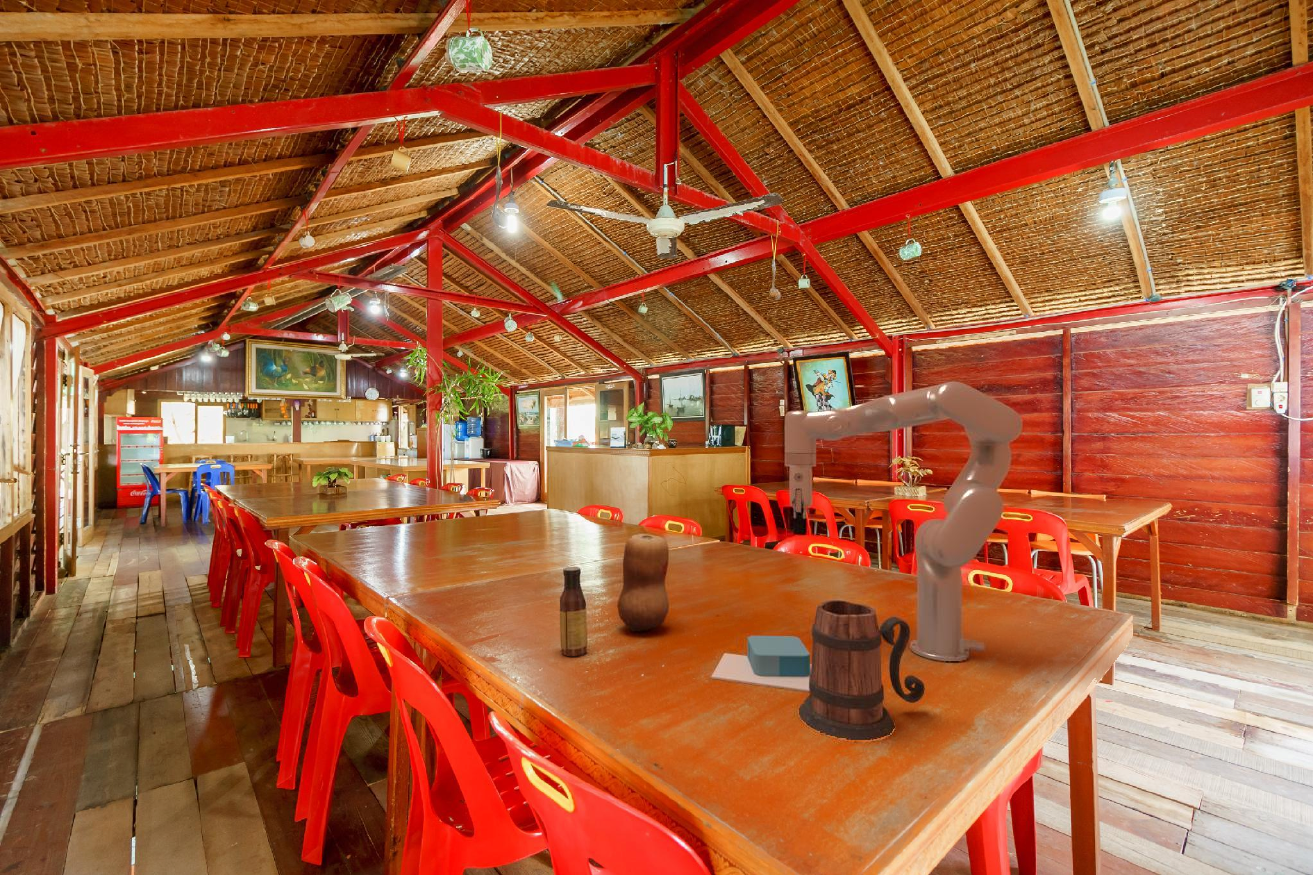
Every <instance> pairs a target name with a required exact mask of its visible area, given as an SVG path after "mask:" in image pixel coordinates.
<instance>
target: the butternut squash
mask: <svg viewBox="0 0 1313 875" xmlns="http://www.w3.org/2000/svg"><path fill="white" fill-rule="evenodd" d="M669 552H670V551H669V546H668V542H667V540H666V539H665V538H663V537H661V536H657V535H653V534H647V533H639V534H634V535H631V536H630V537H629V538H628V539H627V541H626V542H625V545H624V552H623V559H622V579H623V581H622V582H623V583H622V584H623V585H622V590H621V592H620V594H619V597H618V601H617V605H616V607H617V611H618V617H619V618H620V620H621V621H622V622H623V623H624V625H625V626H626V627H627V628H629V629H630V630H632V631H633V632H647V631H652V630H654V629H656V627H658V626H660V625H661V624H663V623H664V621H665V620H666V618H667V615H668V613H669V608H670V607H669V606H670V603H669V597H668V592H667V589H666V577H667V571H668V567H669V559H670V558H669V557H670V555H669Z"/></svg>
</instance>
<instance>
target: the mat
mask: <svg viewBox="0 0 1313 875" xmlns="http://www.w3.org/2000/svg"><path fill="white" fill-rule="evenodd" d="M811 668H812V663H810V674H809V675H808V676H759V675H756V674H755V673H754V672H753V669H752V667H751V664H750V662H749V659H748V656H747V655H741V654H734V653H727V652H724V654H723V655H722V657H721V659H720V661H719V662H718V664H717V666H716V668H715V670H714V671H713V673H712V675H711V679H713V680H720V681H727V682H732V683H733V682H734V683H735V682H736V683H741V684H748V685H749V684H750V685H756V686H763V687H768V686H769V687H770V688H775V689H776V688H777V689H782V688H783V689H784V690H791V691H797V692H798V691H799V692H803V693H805V692H806V693H810V690H809V678H810V675H811Z"/></svg>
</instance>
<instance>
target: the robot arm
mask: <svg viewBox="0 0 1313 875" xmlns="http://www.w3.org/2000/svg"><path fill="white" fill-rule="evenodd" d="M949 419H950V420H953V421H954V422H955V423H957V424H959V425H961V426H963V427H964V431H965V434H966V436H967V438H968V441H969V444H970V455H969V458H968V459H967V462H966V463H965V465H964V467H963V468H962V470H961V471H960V472H959V474H958V475H957V477H956V478H955V480H954V481H953V483H952V484H951V486H950V487H949V488H948V490H947V491H946V493H945V494H944V498H943V500H942V501H943V508H944V510H945V512H946V513H947V515H946V516H945V519H941V518H933V519H932V518H931V519H928V520H925V521H923V523H921V524H920V526H918V528H917V530H916V531H915V532H916V533H915V537H914V550H915V555H916V557H915V558H916V567H917V568H916V571H917V576H916V578H917V587H916V588H917V594H916V595H917V598H916V599H917V601H916V604H917V605H916V608H917V609H916V610H917V611H916V612H917V613H916V620H917V622H916V626H917V627H916V639H914V640H912V641H910V644H909V649H910V650H911V652H913V654H916V655H918V656H921V657H922V658H926V659H929V660H934V661H939V662H946V661H949V663H951V662H950V661H959V662H963V660H964V661H966V660H968V659H969V658H970V652H969V651H970V650H973V651H974V650H975V651H979V652H985V650H986V645H985V642H981V641H977V639H973V638H965V637H964V635H963V633H962V629H963V628H962V627H963V626H962V624H963V623H962V618H963V617H962V615H963V613H962V612H963V610H962V605H963V604H962V602H963V600H962V598H963V595H962V594H963V592H962V590H963V575H962V567H964V566H966V565H967V564H969V563H970V562H972V560H973V559H974V558H975V557H976V556H977V555H978V553H979V552H980V551H981V549H982V547H984V545H985V543H986V542H987V540H988V539H989V537H990V536H991V534H992V533H993V531H994V530H995V529H996V527H997V526H998V524H999V522H1000V520H1001V519H1002V515H1003V511H1004V502H1003V499H1002V496H1001V495H1000V494H999V492H998V490H999V488H1000V487H1001V485H1002V483H1003V481H1004V480H1005V478H1006V477H1007V474H1008V473H1009V470H1010V467H1011V464H1012V451H1011V446H1010V443H1011V442H1014V441H1015V440H1016V439H1018V438H1019V436H1020V435H1021V433H1022V431H1023V421H1022V418H1021V416H1020V414H1019V413H1018V412H1017V411H1015V409H1013V408H1012V407H1010V406H1008V405H1006V404H1005V403H1003V402H1001V401H998V399H996V398H994V397H991V396H989V395H987V394H986V393H984V392H982V391H980V390H978V389H976V388H974V387H972V386H970V385H968V384H965V383H963V382H960V381H952V380H951V381H947V382H944V383H940V384H935V385H931V386H927V387H923V388H917V389H912V390H908V391H904V392H899V393H894V394H889V395H885V396H884V395H883V396H882V397H878V398H876V399H873V400H871V401H870V400H869V401H867V402H864V403H860V404H856V405H852V406H847V407H841V408H837V409H835V408H834V409H826V410H818V411H811V410H790V411H788V412H786V413H785V416H784V467H789V474H788V475H789V476H788V477H789V479H788V480H789V482H788V483H789V487H788V488H789V503H790V504H789V505H790V506H791V507H792V508H793V518H792V534H793V535H794V536H807V532H808V518H807V508H810V507H811V506H812V505H813V469H812V468H813V467H817V439H822V440H825V441H838V440H841V439H843V438H847V437H852V436H857V435H858V436H859V435H862V434H869V433H877V432H880V433H881V432H888V431H889V432H891V431H896V430H901V429H905V428H911V427H915V426H920V425H926V424H929V423H935V422H939V421H945V420H949ZM967 658H968V659H967Z"/></svg>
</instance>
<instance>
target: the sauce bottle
mask: <svg viewBox="0 0 1313 875" xmlns="http://www.w3.org/2000/svg"><path fill="white" fill-rule="evenodd" d="M562 571H563V572H562V575H563V576H564V577H563V578H564V579H563V580H564V584H563V586H564V588H563V590H562V593H561V595H560V598H559V628H560V629H559V632H560V633H559V637H560V638H559V639H560V648H561V650H560V651H561V654H562V655H565V656H567V657H580V656H583V655H584V654H586V653H587V648H588V647H587V646H588V622H587V621H588V618H587V617H588V616H587V615H588V614H587V602H586V599H585V595H584V593H583V589H582V586H581V568H580V567H579V566H567V567H564V568H563V570H562Z"/></svg>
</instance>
